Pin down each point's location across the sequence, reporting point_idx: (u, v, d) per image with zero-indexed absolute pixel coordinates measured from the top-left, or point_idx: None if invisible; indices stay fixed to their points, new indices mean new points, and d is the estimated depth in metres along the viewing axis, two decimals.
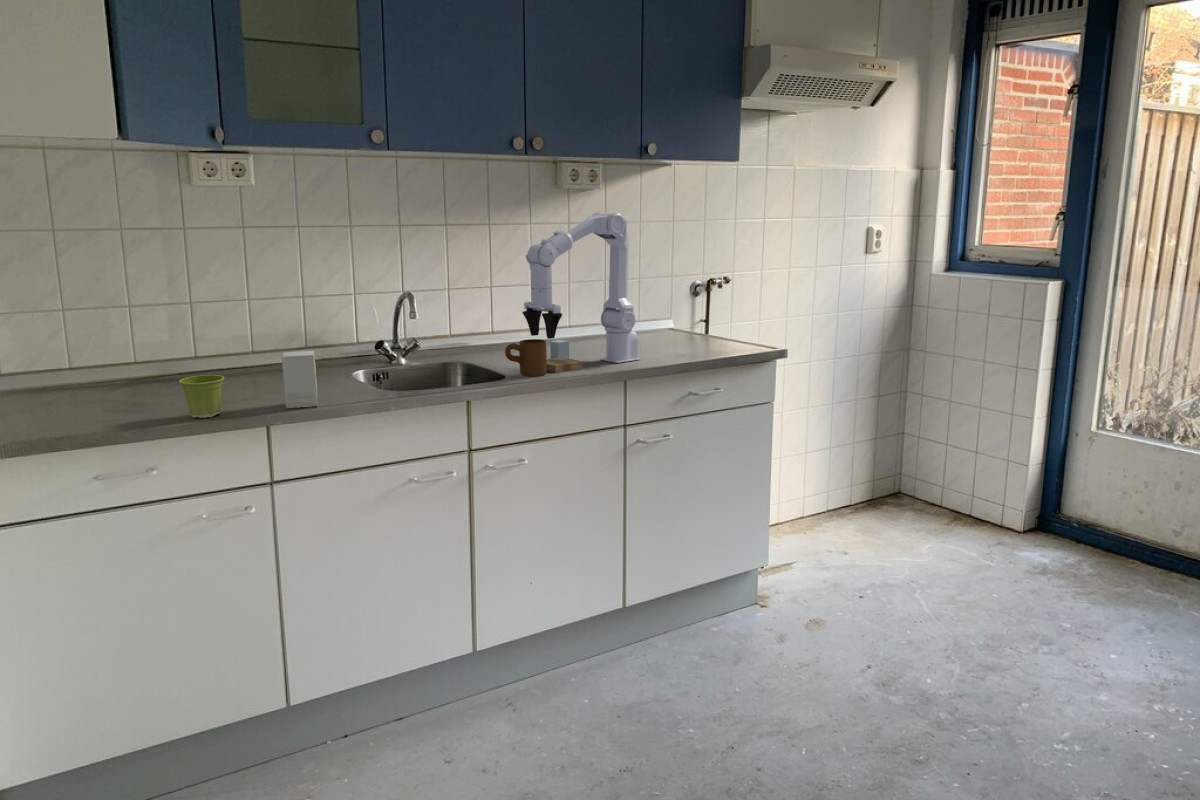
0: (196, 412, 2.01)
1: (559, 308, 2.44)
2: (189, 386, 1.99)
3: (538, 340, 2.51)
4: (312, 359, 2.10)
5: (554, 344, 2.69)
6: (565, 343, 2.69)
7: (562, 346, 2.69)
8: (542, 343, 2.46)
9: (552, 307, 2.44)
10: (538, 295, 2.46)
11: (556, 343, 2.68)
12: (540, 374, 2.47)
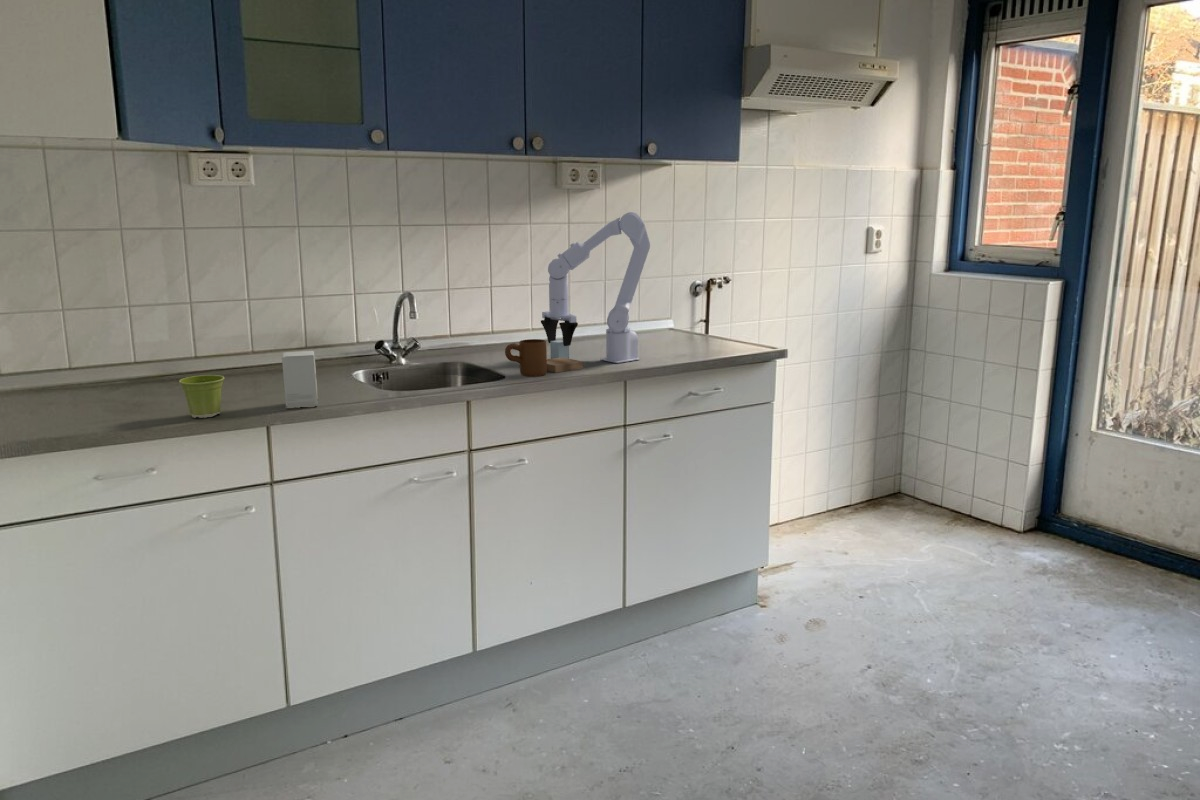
0: (196, 412, 2.01)
1: (575, 318, 2.64)
2: (189, 386, 1.99)
3: (538, 340, 2.51)
4: (312, 359, 2.10)
5: (554, 344, 2.69)
6: None
7: (562, 346, 2.69)
8: (542, 343, 2.46)
9: (569, 317, 2.63)
10: (556, 305, 2.65)
11: (556, 343, 2.68)
12: (540, 374, 2.47)
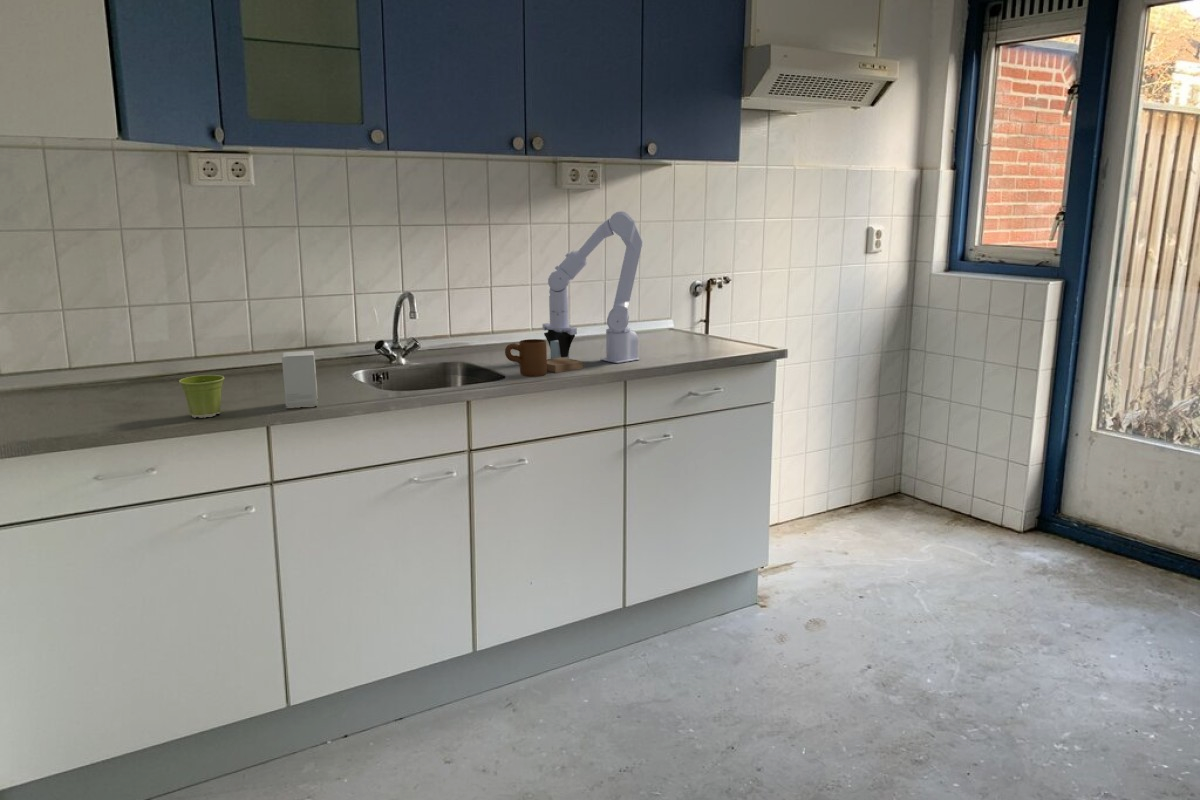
0: (196, 412, 2.01)
1: (575, 330, 2.64)
2: (189, 386, 1.99)
3: (538, 340, 2.51)
4: (312, 359, 2.10)
5: (554, 344, 2.69)
6: None
7: None
8: (542, 343, 2.46)
9: (569, 329, 2.64)
10: (556, 318, 2.66)
11: (556, 343, 2.68)
12: (540, 374, 2.47)
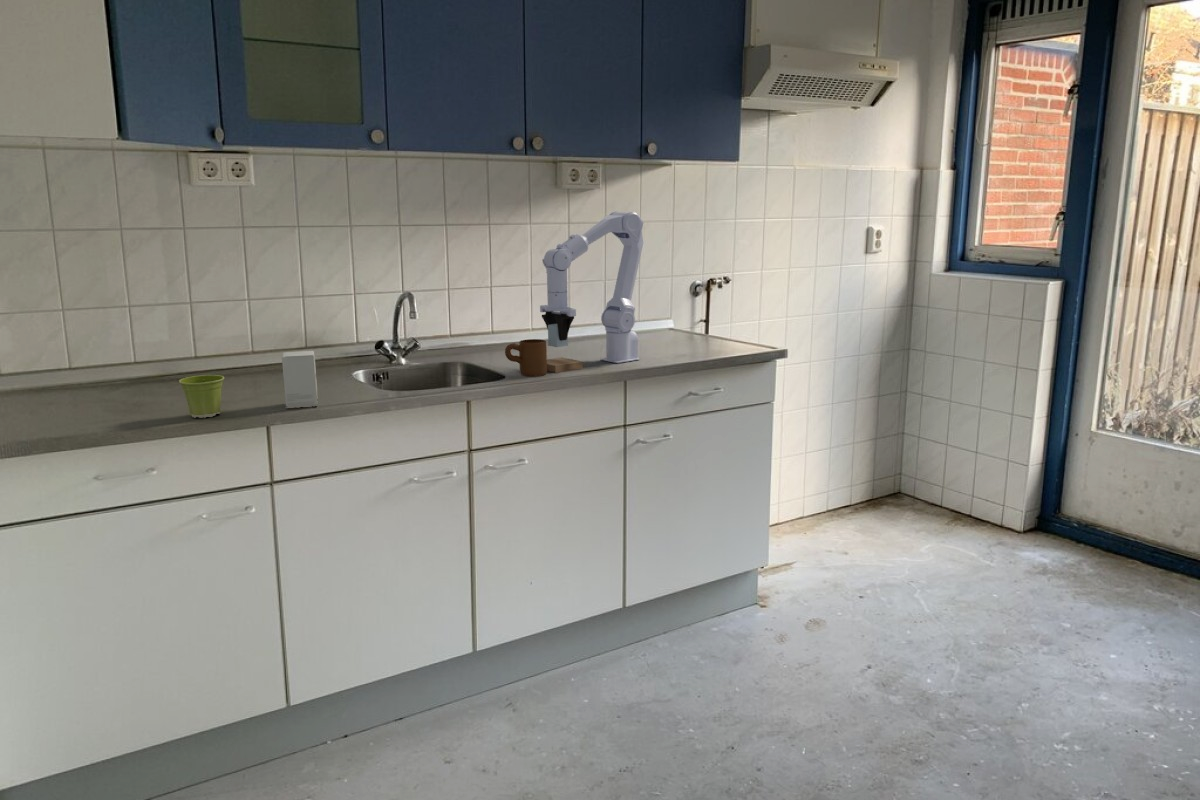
0: (196, 412, 2.01)
1: (574, 311, 2.51)
2: (189, 386, 1.99)
3: (538, 340, 2.51)
4: (312, 359, 2.10)
5: (552, 328, 2.55)
6: None
7: None
8: (542, 343, 2.46)
9: (568, 310, 2.50)
10: (554, 298, 2.52)
11: (554, 327, 2.55)
12: (540, 374, 2.47)
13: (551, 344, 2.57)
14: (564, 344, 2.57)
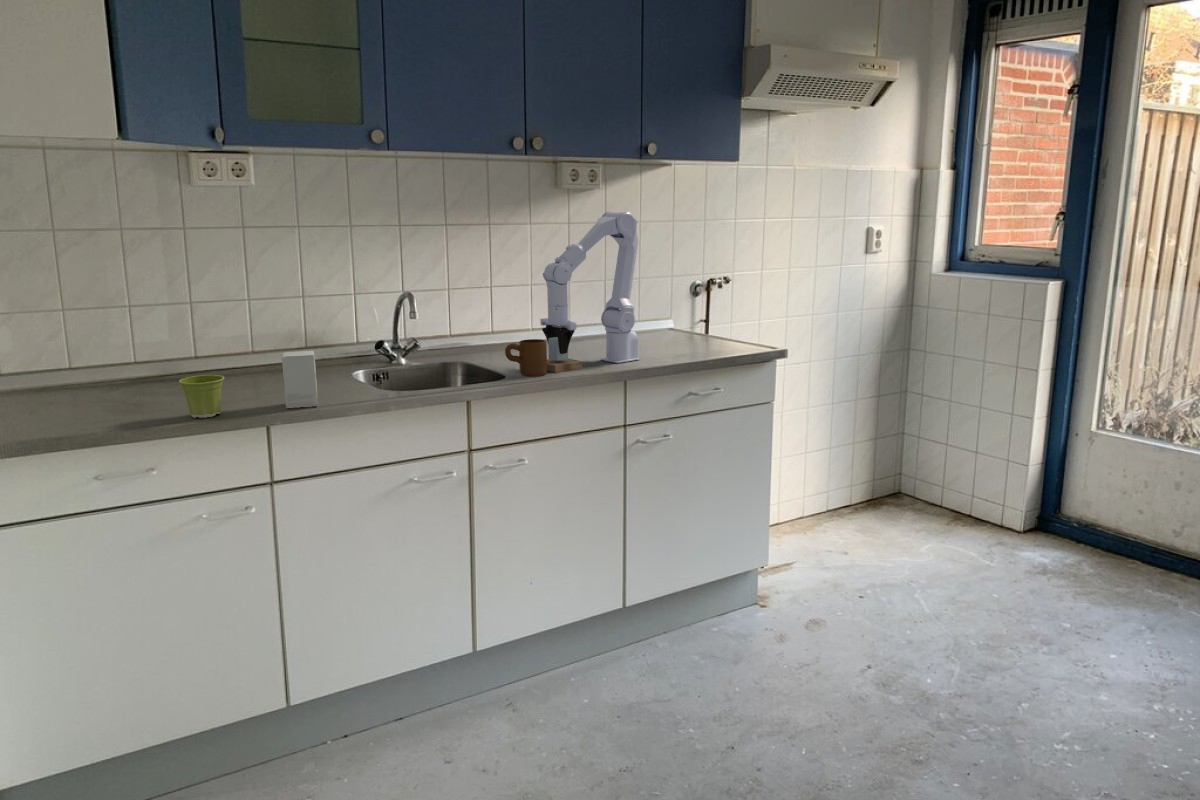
0: (196, 412, 2.01)
1: (575, 325, 2.51)
2: (189, 386, 1.99)
3: (538, 340, 2.51)
4: (312, 359, 2.10)
5: (553, 341, 2.56)
6: None
7: None
8: (542, 343, 2.46)
9: (568, 324, 2.51)
10: (554, 312, 2.53)
11: (554, 340, 2.55)
12: (540, 374, 2.47)
13: (551, 357, 2.57)
14: (564, 357, 2.57)
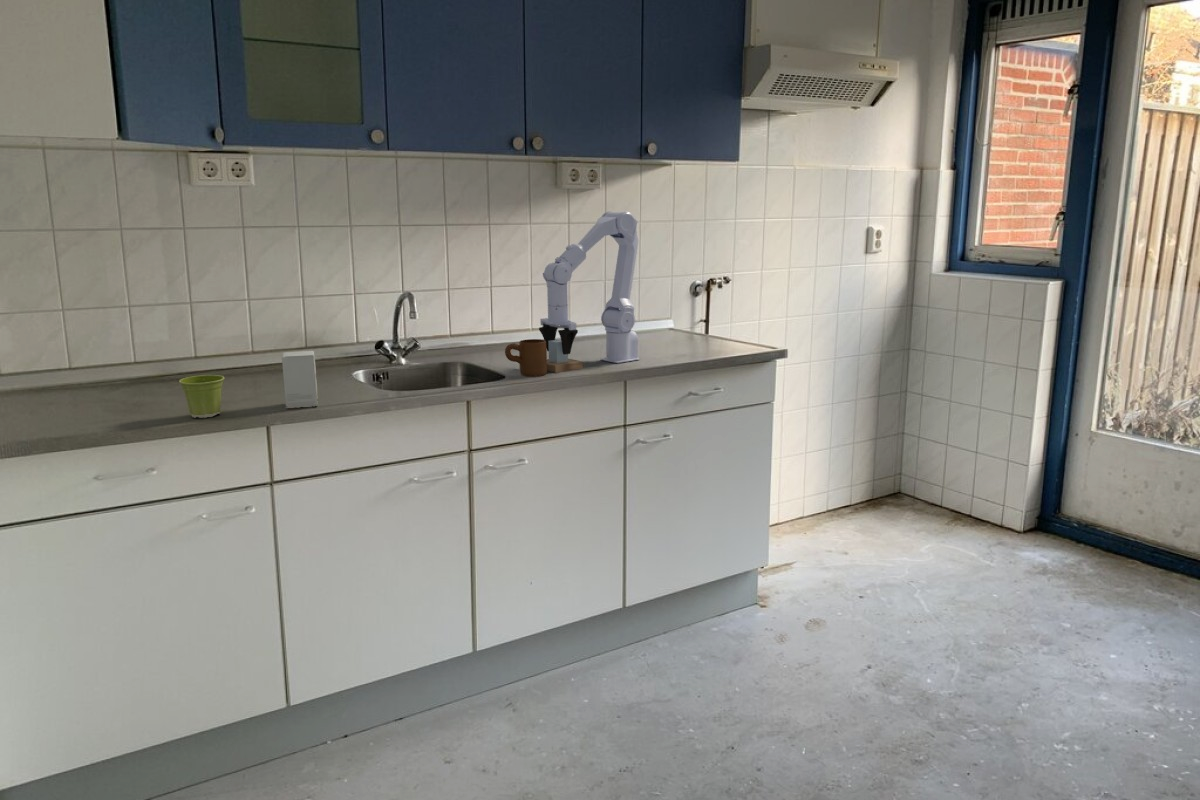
0: (196, 412, 2.01)
1: (575, 325, 2.51)
2: (189, 386, 1.99)
3: (538, 340, 2.51)
4: (312, 359, 2.10)
5: (553, 344, 2.56)
6: None
7: (561, 346, 2.56)
8: (542, 343, 2.46)
9: (568, 324, 2.51)
10: (554, 312, 2.53)
11: (554, 343, 2.55)
12: (540, 374, 2.47)
13: (551, 360, 2.58)
14: (564, 360, 2.57)
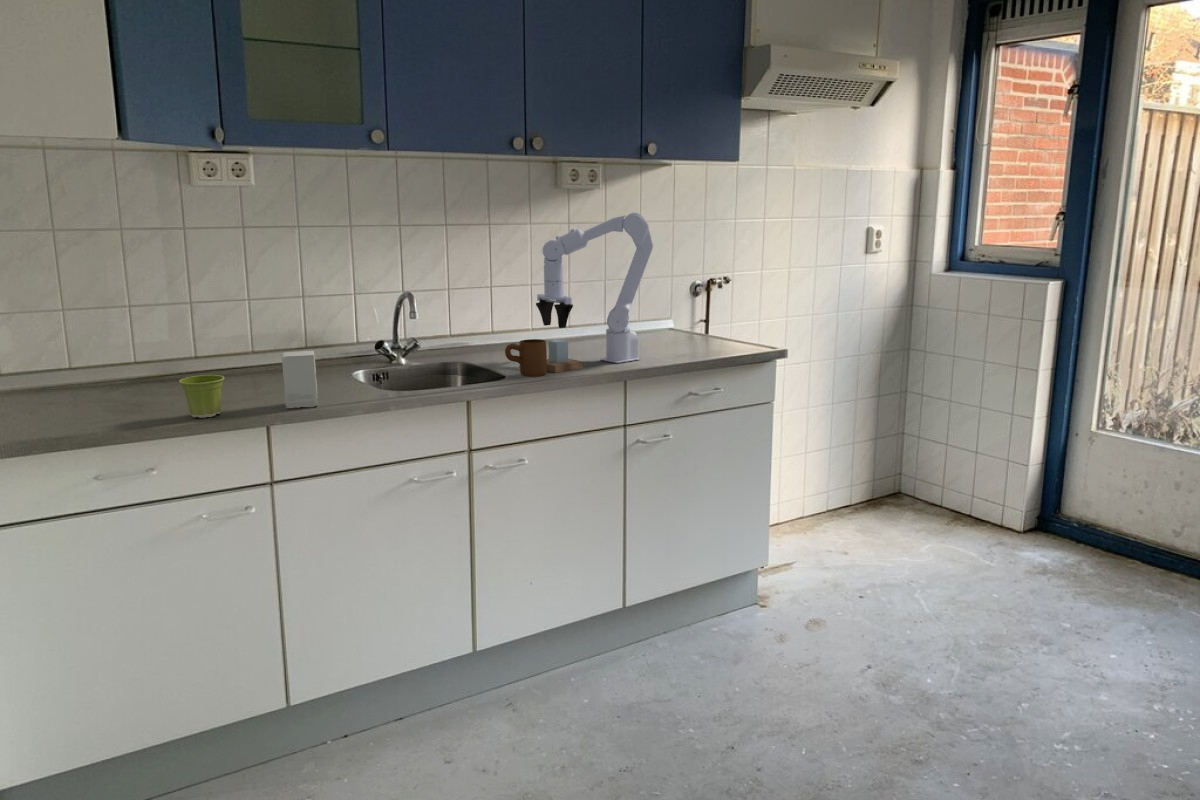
0: (196, 412, 2.01)
1: (570, 299, 2.62)
2: (189, 386, 1.99)
3: (538, 340, 2.51)
4: (312, 359, 2.10)
5: (553, 344, 2.56)
6: (564, 343, 2.56)
7: (561, 346, 2.56)
8: (542, 343, 2.46)
9: (564, 298, 2.62)
10: (551, 287, 2.64)
11: (554, 343, 2.55)
12: (540, 374, 2.47)
13: (551, 360, 2.58)
14: (564, 360, 2.57)
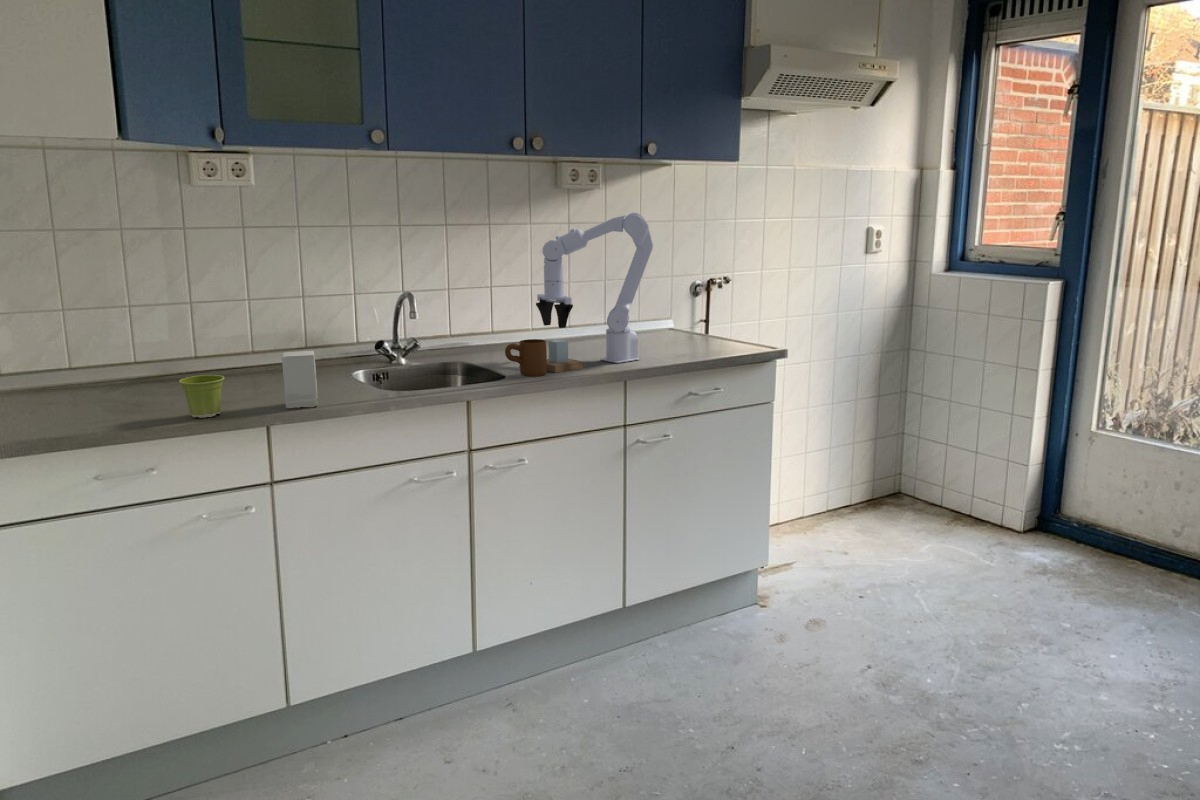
0: (196, 412, 2.01)
1: (570, 299, 2.63)
2: (189, 386, 1.99)
3: (538, 340, 2.51)
4: (312, 359, 2.10)
5: (553, 344, 2.56)
6: (564, 343, 2.56)
7: (561, 346, 2.56)
8: (542, 343, 2.46)
9: (564, 298, 2.62)
10: (551, 287, 2.64)
11: (554, 343, 2.55)
12: (540, 374, 2.47)
13: (551, 360, 2.58)
14: (564, 360, 2.57)
